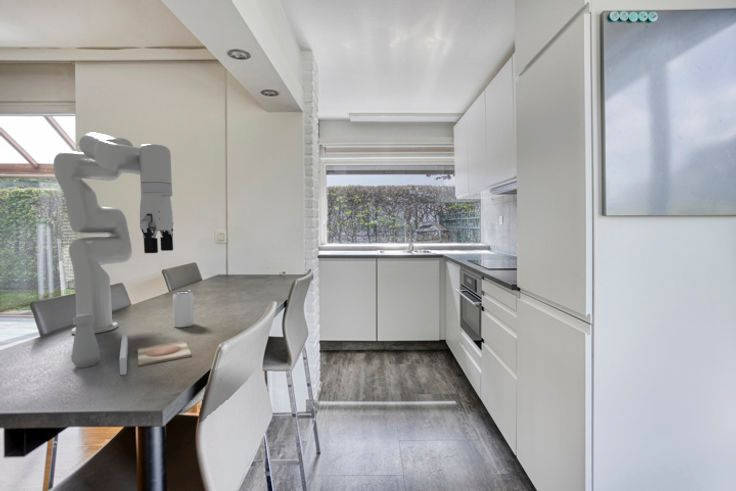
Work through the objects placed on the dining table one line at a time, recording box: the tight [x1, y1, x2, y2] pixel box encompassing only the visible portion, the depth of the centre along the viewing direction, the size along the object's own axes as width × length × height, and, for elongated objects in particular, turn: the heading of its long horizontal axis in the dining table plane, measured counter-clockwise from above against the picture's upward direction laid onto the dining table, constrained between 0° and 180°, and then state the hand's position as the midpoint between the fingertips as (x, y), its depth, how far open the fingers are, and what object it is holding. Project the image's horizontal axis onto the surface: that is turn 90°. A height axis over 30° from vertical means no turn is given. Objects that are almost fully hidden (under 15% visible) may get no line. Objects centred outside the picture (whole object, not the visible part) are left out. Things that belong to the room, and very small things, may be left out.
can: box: [172, 289, 196, 329], centre depth 126 cm, size 6×6×12 cm
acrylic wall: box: [118, 334, 129, 376], centre depth 93 cm, size 22×1×4 cm, turn 33°
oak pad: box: [137, 339, 192, 367], centre depth 98 cm, size 14×12×1 cm
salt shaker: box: [70, 313, 101, 369], centre depth 90 cm, size 6×6×13 cm
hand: (159, 251), depth 100 cm, fingers open, 9 cm apart
